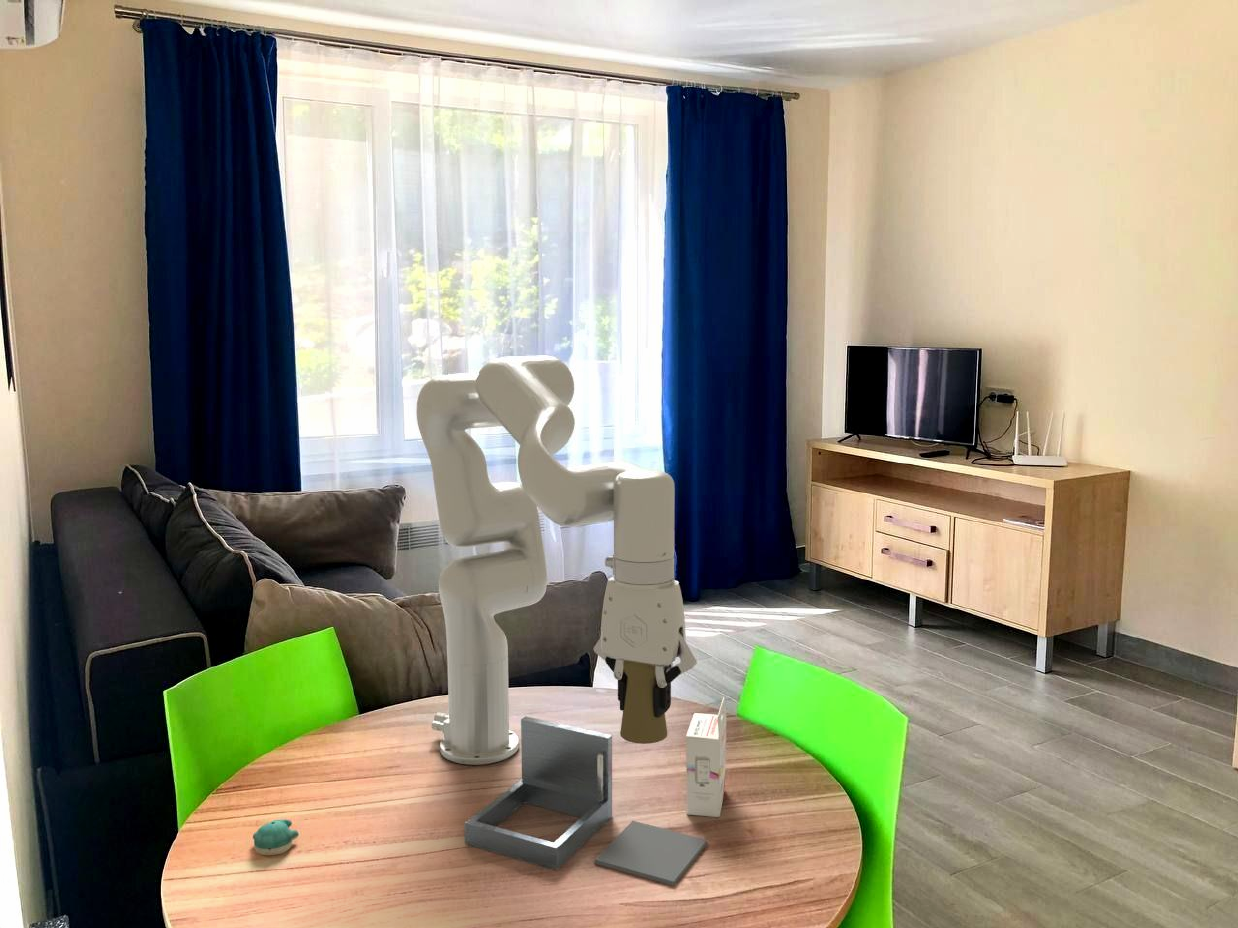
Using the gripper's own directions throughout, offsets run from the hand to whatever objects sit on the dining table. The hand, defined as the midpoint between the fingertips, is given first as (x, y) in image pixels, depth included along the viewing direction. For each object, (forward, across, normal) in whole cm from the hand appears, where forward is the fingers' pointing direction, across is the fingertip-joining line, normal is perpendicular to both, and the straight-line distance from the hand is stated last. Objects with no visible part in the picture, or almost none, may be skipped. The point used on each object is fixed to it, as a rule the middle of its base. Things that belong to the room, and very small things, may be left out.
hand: (644, 708), depth 127 cm
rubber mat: (+20, +1, 0) cm, 20 cm away
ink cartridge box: (+20, +2, +16) cm, 26 cm away
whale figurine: (+20, -44, -20) cm, 53 cm away
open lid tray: (+19, -15, -2) cm, 25 cm away
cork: (+3, 0, 0) cm, 3 cm away
